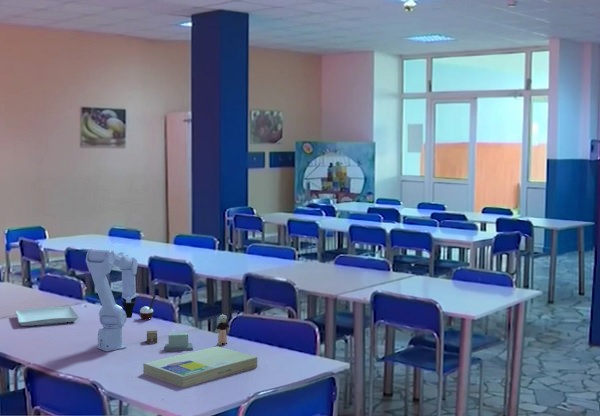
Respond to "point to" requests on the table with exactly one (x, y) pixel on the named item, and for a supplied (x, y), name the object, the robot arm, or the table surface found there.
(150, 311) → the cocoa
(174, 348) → the rubber mat
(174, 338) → the tall sage green block
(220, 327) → the grandmother figurine
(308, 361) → the table surface
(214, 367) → the puzzle box
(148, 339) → the plain olive brown cube
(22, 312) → the square plate
